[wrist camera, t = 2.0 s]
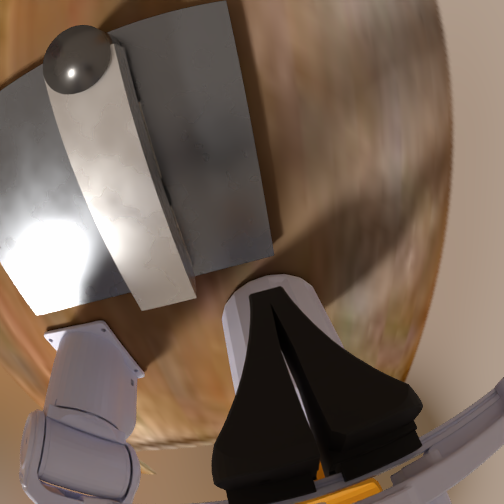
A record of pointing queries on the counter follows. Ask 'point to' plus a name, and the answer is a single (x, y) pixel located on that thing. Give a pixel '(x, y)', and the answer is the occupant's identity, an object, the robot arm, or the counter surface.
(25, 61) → the counter surface
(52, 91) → the white long bar
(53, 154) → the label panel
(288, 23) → the counter surface
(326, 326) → the soap bottle
